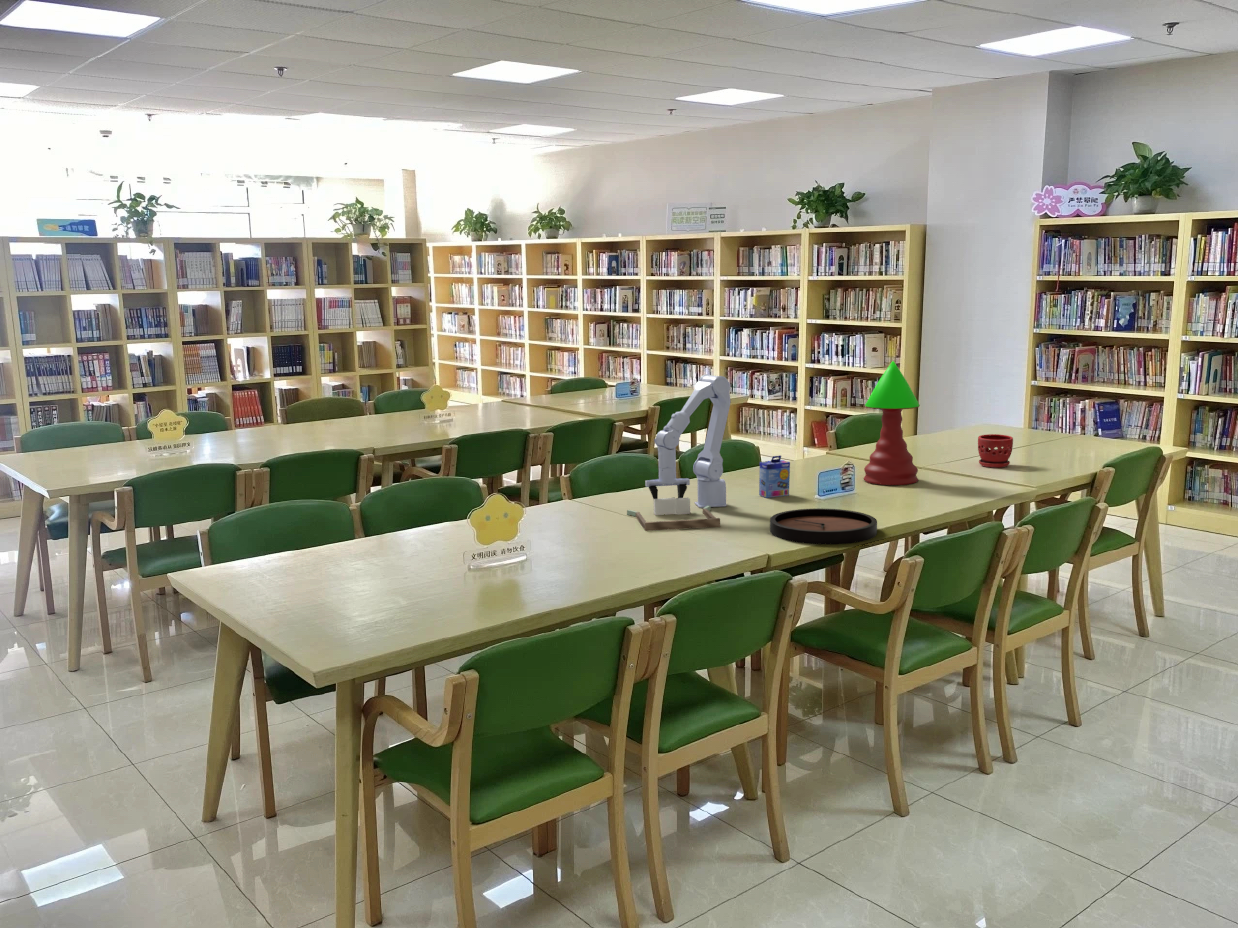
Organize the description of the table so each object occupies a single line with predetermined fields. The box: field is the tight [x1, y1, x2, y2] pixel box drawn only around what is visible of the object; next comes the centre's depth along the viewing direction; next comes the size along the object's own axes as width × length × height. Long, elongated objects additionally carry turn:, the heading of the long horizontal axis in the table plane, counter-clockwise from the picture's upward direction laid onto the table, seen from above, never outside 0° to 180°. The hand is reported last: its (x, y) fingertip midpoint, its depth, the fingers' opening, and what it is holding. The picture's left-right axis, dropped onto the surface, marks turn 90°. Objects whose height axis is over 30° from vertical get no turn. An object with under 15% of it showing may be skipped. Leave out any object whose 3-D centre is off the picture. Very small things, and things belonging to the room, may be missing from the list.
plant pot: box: [977, 433, 1014, 469], centre depth 400 cm, size 13×13×12 cm
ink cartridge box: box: [758, 455, 791, 499], centre depth 354 cm, size 10×6×14 cm, turn 115°
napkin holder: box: [653, 497, 691, 516], centre depth 331 cm, size 15×11×6 cm
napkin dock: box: [626, 506, 721, 532], centre depth 321 cm, size 28×24×2 cm
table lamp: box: [863, 360, 920, 486], centre depth 373 cm, size 20×20×45 cm
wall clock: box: [769, 507, 878, 546], centre depth 301 cm, size 31×4×31 cm
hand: (667, 507), depth 335 cm, fingers open, 7 cm apart
